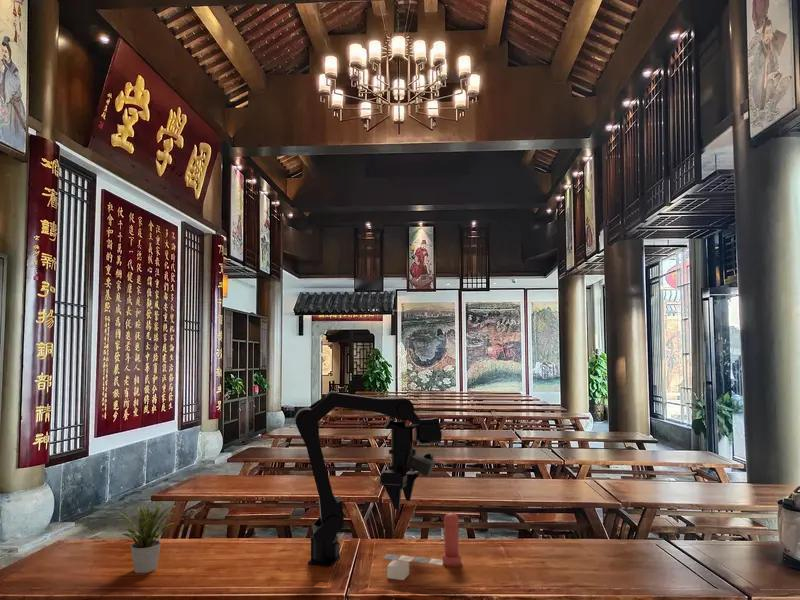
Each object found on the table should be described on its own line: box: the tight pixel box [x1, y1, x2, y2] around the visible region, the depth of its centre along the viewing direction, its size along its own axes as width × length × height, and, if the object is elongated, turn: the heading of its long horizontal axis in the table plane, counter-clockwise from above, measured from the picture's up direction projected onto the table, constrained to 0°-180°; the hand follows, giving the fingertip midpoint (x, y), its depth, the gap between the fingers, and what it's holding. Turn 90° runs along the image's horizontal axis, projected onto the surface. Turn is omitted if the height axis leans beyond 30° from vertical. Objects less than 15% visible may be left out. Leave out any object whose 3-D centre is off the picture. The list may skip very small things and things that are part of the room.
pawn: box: [442, 512, 462, 568], centre depth 155 cm, size 5×5×12 cm
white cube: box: [386, 559, 410, 581], centre depth 146 cm, size 4×4×4 cm
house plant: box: [118, 502, 179, 574], centre depth 156 cm, size 14×14×16 cm
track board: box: [382, 553, 459, 567], centre depth 157 cm, size 20×8×1 cm, turn 71°
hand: (402, 505), depth 165 cm, fingers open, 9 cm apart
